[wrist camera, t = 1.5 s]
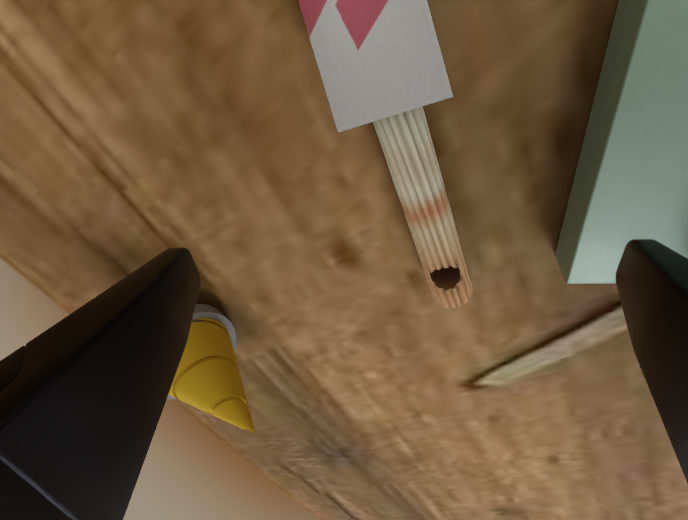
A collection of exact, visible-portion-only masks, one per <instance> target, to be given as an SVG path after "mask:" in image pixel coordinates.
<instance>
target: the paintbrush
mask: <svg viewBox="0 0 688 520" xmlns="http://www.w3.org/2000/svg"><path fill="white" fill-rule="evenodd" d="M298 2H299V5H300V8H301V12H302V15H303V18H304V22H305V25H306V28H307V31H308V35H309V38H310V41H311V45H312V48H313V51H314V55H315V58H316V61H317V64H318V68H319V71H320V74H321V78H322V81H323V84H324V88H325V91H326V94H327V97H328V101H329V104H330V107H331V111H332V114H333V117H334V121H335V124H336V127H337V130H338V132H342V131H345V130H348V129H351V128H355V127H358V126H361V125H364V124H367V123H371V122H373V124H374V127H375V130H376V133H377V136H378V138H379V141H380V144H381V147H382V150H383V153H384V156H385V159H386V162H387V165H388V168H389V171H390V174H391V177H392V180H393V183H394V186H395V188H396V191H397V194H398V197H399V200H400V203H401V206H402V209H403V212H404V214H405V217H406V220H407V223H408V226H409V229H410V232H411V235H412V238H413V240H414V243H415V246H416V249H417V252H418V255H419V258H420V261H421V263H422V266H423V269H424V272H425V275H426V278H427V281H428V284H429V287H430V289H431V292H432V295H433V298H434V301H435V302H436V303H438V304H439V305H440V306H441V307H442V306H444V307H445V308H447V309H448V308H449V307H451V308H456V307H457V306H458V307H460V306H462V305H463V303H467V302H468V299H470V298H471V296H472V294H471V293H472V292H473V289H472V285H471V282H470V279H469V275H468V271H467V268H466V264H465V260H464V257H463V253H462V249H461V245H460V242H459V238H458V234H457V230H456V227H455V223H454V219H453V215H452V212H451V208H450V204H449V201H448V197H447V194H446V190H445V186H444V183H443V179H442V175H441V172H440V168H439V164H438V161H437V157H436V153H435V150H434V146H433V143H432V139H431V135H430V132H429V128H428V124H427V121H426V117H425V114H424V110H423V107H422V106H425V105H428V104H432V103H435V102H438V101H441V100H445V99H448V98H451V97H453V94H452V91H451V87H450V83H449V80H448V76H447V72H446V69H445V65H444V61H443V58H442V54H441V50H440V47H439V43H438V39H437V36H436V32H435V28H434V25H433V21H432V17H431V14H430V10H429V6H428V3H427V0H298Z"/></svg>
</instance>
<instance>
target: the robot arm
mask: <svg viewBox="0 0 688 520" xmlns="http://www.w3.org/2000/svg"><path fill="white" fill-rule="evenodd" d="M200 283H201V281H200V275H199V272H198V270H197V267H196V265H195V262H194V260H193V258H192V255H191V253H190V251H189V250H188V249H186V248H169V249H167V250H165V251H164V252H162V253H161V254H159V255H158V256H156V257H155V258H153V259H152V260H150V261H149V262H147V263H146V264H144V265H143V266H141V267H140V268H138V269H137V270H135V271H134V272H132V273H131V274H129V275H128V276H126V277H125V278H124V279H122V280H121V281H119V282H118V283H116V284H115V285H113V286H112V287H110V288H109V289H107V290H106V291H104V292H103V293H101V294H100V295H98V296H97V297H95V298H94V299H92V300H91V301H89V302H88V303H86V304H85V305H83V306H82V307H80V308H79V309H77V310H76V311H74V312H73V313H71V314H70V315H69V316H67V317H65V318H64V319H62V320H61V321H59V322H58V323H57V324H55V325H54V326H52V327H51V328H49V329H48V330H46V331H45V332H43V333H42V334H40V335H39V336H37V337H36V338H34V339H33V340H31V341H30V342H28V343H27V344H26V347H25V346H22V347H21V348H19V349H18V350H16V351H15V352H13V353H12V354H10V355H9V356H7V357H6V358H4V359H3V360H1V361H0V520H123V518H124V515H125V512H126V509H127V507H128V504H129V501H130V499H131V495H132V493H133V490H134V488H135V485H136V482H137V479H138V476H139V474H140V471H141V468H142V465H143V463H144V460H145V457H146V454H147V452H148V449H149V446H150V443H151V440H152V438H153V435H154V432H155V430H156V427H157V424H158V421H159V419H160V416H161V413H162V410H163V408H164V405H165V402H166V399H167V396H168V394H169V391H170V388H171V385H172V383H173V380H174V377H175V374H176V372H177V369H178V366H179V363H180V361H181V358H182V355H183V352H184V349H185V346H186V343H187V339H188V336H189V331H190V327H191V323H192V319H193V315H194V310H195V306H196V302H197V298H198V293H199V289H200ZM616 285H617V289H618V292H619V296H620V300H621V304H622V308H623V312H624V315H625V319H626V323H627V327H628V331H629V334H630V338H631V342H632V345H633V348H634V351H635V354H636V357H637V359H638V362H639V364H640V367H641V369H642V372H643V374H644V377H645V379H646V382H647V384H648V387H649V389H650V392H651V394H652V397H653V399H654V401H655V404H656V406H657V409H658V411H659V414H660V416H661V419H662V421H663V424H664V426H665V429H666V431H667V434H668V436H669V438H670V441H671V443H672V446H673V448H674V451H675V453H676V456H677V458H678V461H679V463H680V466H681V468H682V471H683V473H684V476H685V478H686V480H687V483H688V259H687V258H686V257H684V256H682V255H681V254H679V253H677V252H675V251H674V250H672V249H670V248H668V247H667V246H665V245H663V244H662V243H660V242H658V241H656V240H654V239H633V240H630V241H629V242H628V243H627V244H626V246H625V249H624V252H623V254H622V257H621V260H620V262H619V265H618V268H617V271H616Z"/></svg>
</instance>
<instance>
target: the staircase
mask: <svg viewBox="0 0 688 520" xmlns="http://www.w3.org/2000/svg"><path fill="white" fill-rule="evenodd" d="M633 239H654V240H656V241H658V242H660V243H662V244H663V245H665V246H667V247H668V248H670V249H672V250H674V251H675V252H677V253H679V254H681V255H682V256H684V257H686V258H687V259H688V0H619V1H618V5H617V9H616V13H615V17H614V21H613V25H612V29H611V33H610V37H609V41H608V45H607V49H606V53H605V57H604V61H603V65H602V69H601V73H600V77H599V81H598V85H597V89H596V93H595V97H594V101H593V105H592V109H591V113H590V117H589V121H588V125H587V129H586V132H585V136H584V140H583V144H582V148H581V152H580V156H579V160H578V164H577V168H576V172H575V176H574V180H573V184H572V188H571V192H570V196H569V200H568V204H567V208H566V212H565V216H564V220H563V224H562V228H561V232H560V236H559V240H558V244H557V248H556V252H555V256H556V258H557V261H558V264H559V266H560V269H561V271H562V274H563V276H564V279H565V281H566V283H567V284H608V283H616V271H617V268H618V265H619V262H620V260H621V257H622V254H623V252H624V249H625V246H626V244H627V243H628V242H629V241H630V240H633Z"/></svg>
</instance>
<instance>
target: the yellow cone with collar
mask: <svg viewBox="0 0 688 520" xmlns="http://www.w3.org/2000/svg"><path fill="white" fill-rule="evenodd" d="M236 341H237V340H236V332H235V329H234V326H233V325H232V323H231V322H230V321H229V320H228V319H227V318H226V317H225V316H224V315H223V314H222V313H221V312H220V311H219V310H218V309H216V308H214V307H212V306H210V305H206V304H196V306H195V310H194V315H193V319H192V323H191V327H190V331H189V336H188V339H187V343H186V346H185V349H184V352H183V355H182V358H181V361H180V363H179V366H178V369H177V372H176V374H175V377H174V380H173V383H172V385H171V388H170V391H169V394H168V396H167V399H179V400H181V401H183V402H185V403H187V404H190V405H192V406H194V407H196V408H198V409H200V410H203V411H205V412H207V413H209V414H212V415H213V416H216V417H218V418H220V419H222V420H224V421H226V422H229V423H231V424H233V425H235V426H237V427H239V428H242V429H244V430H248V429H249V430H250V432H252V433H254V432H255V430H254V426H253V422H252V418H251V414H250V411H249V407H248V403H247V399H246V395H245V391H244V387H243V384H242V380H241V376H240V372H239V368H238V364H237V360H236V357H235V353H234V352H235V349H236Z"/></svg>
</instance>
